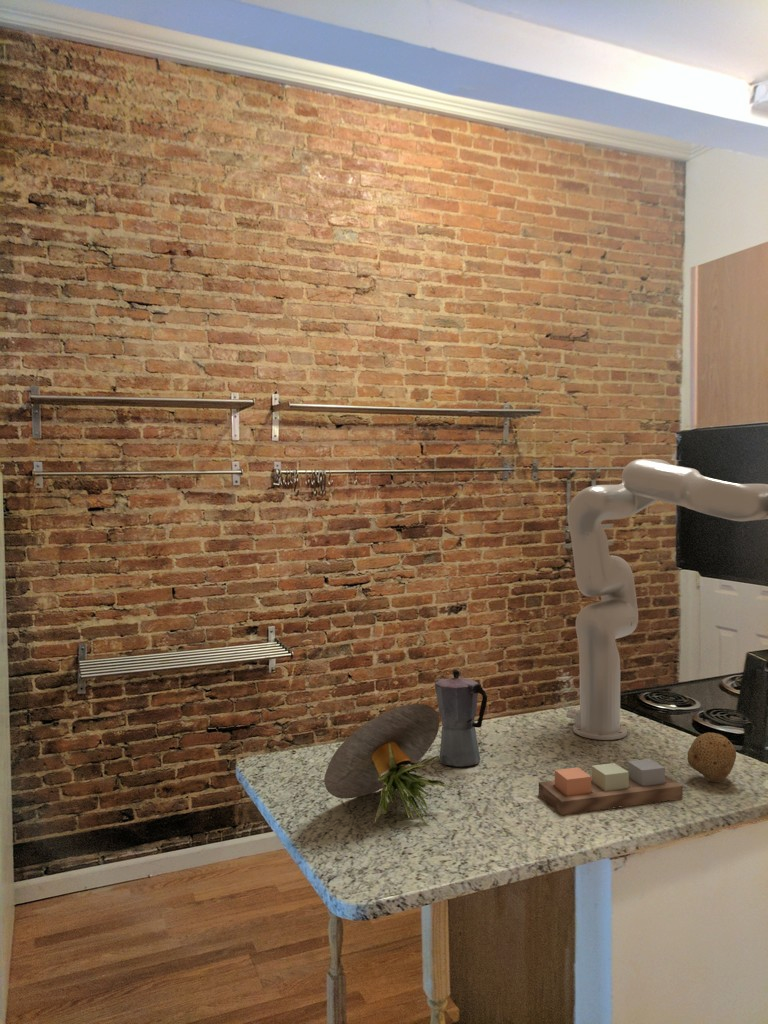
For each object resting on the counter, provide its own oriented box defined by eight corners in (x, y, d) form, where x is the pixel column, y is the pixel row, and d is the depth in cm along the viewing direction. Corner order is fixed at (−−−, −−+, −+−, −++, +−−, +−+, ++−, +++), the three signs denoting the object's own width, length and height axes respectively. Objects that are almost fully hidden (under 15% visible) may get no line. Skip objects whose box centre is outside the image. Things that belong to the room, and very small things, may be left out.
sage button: (605, 795, 150) (605, 774, 150) (591, 785, 155) (591, 765, 155) (628, 792, 151) (628, 772, 151) (614, 782, 156) (614, 763, 156)
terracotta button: (567, 800, 148) (567, 779, 148) (554, 790, 153) (554, 770, 152) (591, 797, 149) (591, 776, 149) (578, 787, 154) (578, 767, 154)
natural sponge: (687, 786, 157) (687, 737, 157) (686, 770, 166) (687, 724, 165) (737, 792, 154) (737, 742, 154) (734, 776, 163) (734, 728, 162)
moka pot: (449, 747, 182) (448, 661, 181) (503, 764, 171) (502, 673, 170) (421, 758, 175) (420, 669, 174) (475, 776, 164) (474, 681, 163)
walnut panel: (561, 814, 145) (561, 801, 145) (538, 794, 154) (538, 782, 154) (682, 798, 152) (682, 785, 152) (653, 780, 161) (653, 768, 161)
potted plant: (326, 872, 139) (389, 797, 126) (296, 783, 150) (351, 705, 137) (436, 850, 153) (503, 780, 140) (401, 770, 164) (460, 698, 152)
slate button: (642, 790, 152) (642, 770, 152) (627, 781, 157) (627, 761, 157) (664, 787, 153) (665, 767, 153) (649, 778, 158) (649, 758, 158)
